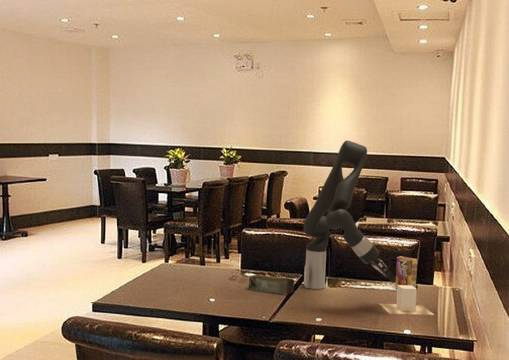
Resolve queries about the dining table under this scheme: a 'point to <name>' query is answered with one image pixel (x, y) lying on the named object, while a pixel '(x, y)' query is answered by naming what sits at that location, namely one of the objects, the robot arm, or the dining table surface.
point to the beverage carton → (271, 284)
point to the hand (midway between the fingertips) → (391, 278)
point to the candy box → (406, 271)
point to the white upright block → (406, 298)
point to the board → (394, 310)
